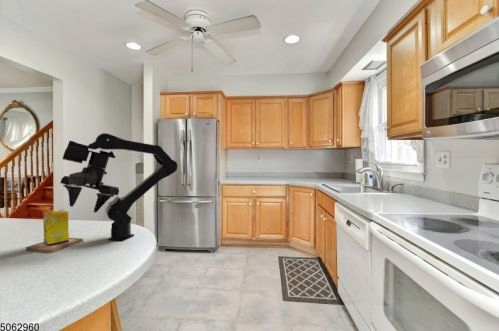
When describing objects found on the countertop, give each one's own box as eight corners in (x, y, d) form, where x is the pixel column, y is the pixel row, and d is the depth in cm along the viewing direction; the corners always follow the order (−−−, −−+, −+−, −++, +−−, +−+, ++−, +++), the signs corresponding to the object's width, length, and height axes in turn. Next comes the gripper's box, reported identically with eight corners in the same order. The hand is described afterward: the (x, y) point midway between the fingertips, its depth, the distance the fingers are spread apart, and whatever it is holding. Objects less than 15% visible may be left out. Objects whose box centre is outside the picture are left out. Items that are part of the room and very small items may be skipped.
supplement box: (43, 242, 83) (42, 211, 83) (64, 238, 88) (63, 209, 87) (47, 246, 79) (46, 214, 79) (69, 242, 84) (68, 211, 83)
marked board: (59, 239, 90) (58, 236, 90) (82, 241, 87) (82, 238, 87) (26, 250, 79) (25, 246, 79) (52, 252, 77) (52, 249, 77)
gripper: (54, 157, 79) (38, 203, 77) (105, 169, 77) (90, 216, 75) (79, 162, 90) (66, 203, 88) (125, 173, 88) (112, 214, 86)
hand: (83, 209), depth 84 cm, fingers open, 9 cm apart
